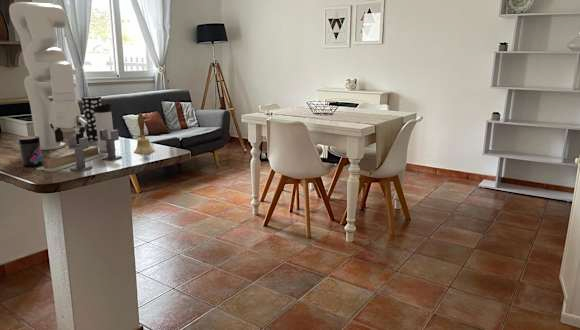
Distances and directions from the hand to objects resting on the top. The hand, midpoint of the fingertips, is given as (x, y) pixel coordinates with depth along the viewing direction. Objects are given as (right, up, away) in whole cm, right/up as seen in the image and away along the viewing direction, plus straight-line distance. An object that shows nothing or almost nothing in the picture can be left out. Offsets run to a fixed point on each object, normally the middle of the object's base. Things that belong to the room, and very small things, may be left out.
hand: (70, 142), depth 165 cm
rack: (+11, -8, -2) cm, 14 cm away
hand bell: (+22, -3, +18) cm, 29 cm away
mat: (+1, -7, +1) cm, 8 cm away
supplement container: (-12, -9, -3) cm, 15 cm away
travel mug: (+6, -3, +19) cm, 20 cm away
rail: (+1, -7, +1) cm, 7 cm away
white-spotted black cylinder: (-10, +4, +45) cm, 46 cm away
